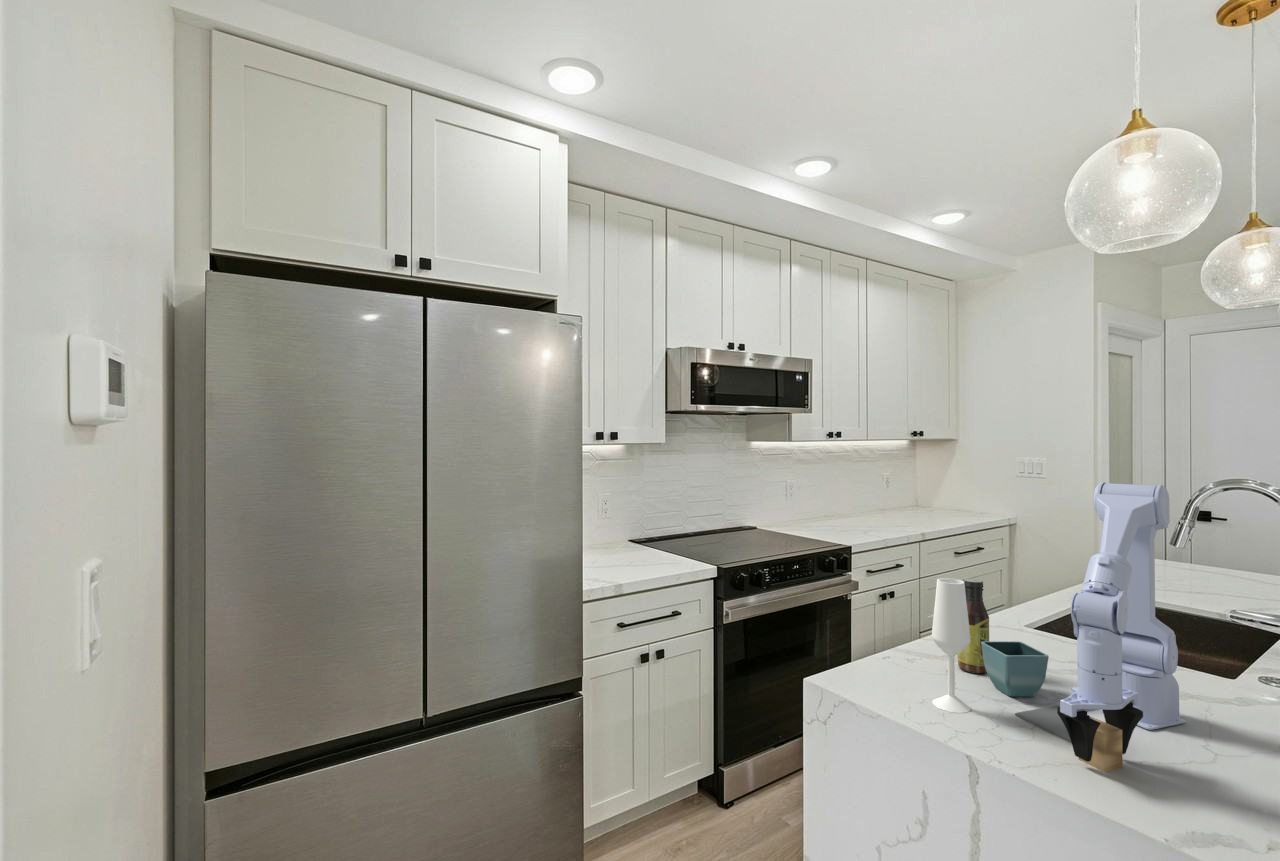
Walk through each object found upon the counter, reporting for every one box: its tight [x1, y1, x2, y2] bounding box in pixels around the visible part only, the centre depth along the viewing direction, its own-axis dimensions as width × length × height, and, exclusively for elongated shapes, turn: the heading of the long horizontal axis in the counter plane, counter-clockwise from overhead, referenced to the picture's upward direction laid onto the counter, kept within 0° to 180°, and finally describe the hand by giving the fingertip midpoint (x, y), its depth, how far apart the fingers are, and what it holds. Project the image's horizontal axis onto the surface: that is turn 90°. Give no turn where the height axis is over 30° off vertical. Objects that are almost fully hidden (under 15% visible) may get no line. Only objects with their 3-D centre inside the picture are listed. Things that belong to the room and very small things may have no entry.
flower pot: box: [981, 640, 1049, 697], centre depth 124 cm, size 9×9×9 cm
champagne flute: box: [931, 577, 972, 714], centre depth 118 cm, size 7×7×24 cm
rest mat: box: [1014, 704, 1096, 743], centre depth 110 cm, size 12×12×1 cm
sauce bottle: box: [957, 578, 990, 674], centre depth 136 cm, size 7×6×20 cm
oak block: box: [1078, 718, 1124, 773], centre depth 97 cm, size 4×4×6 cm
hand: (1100, 754), depth 97 cm, fingers open, 7 cm apart
